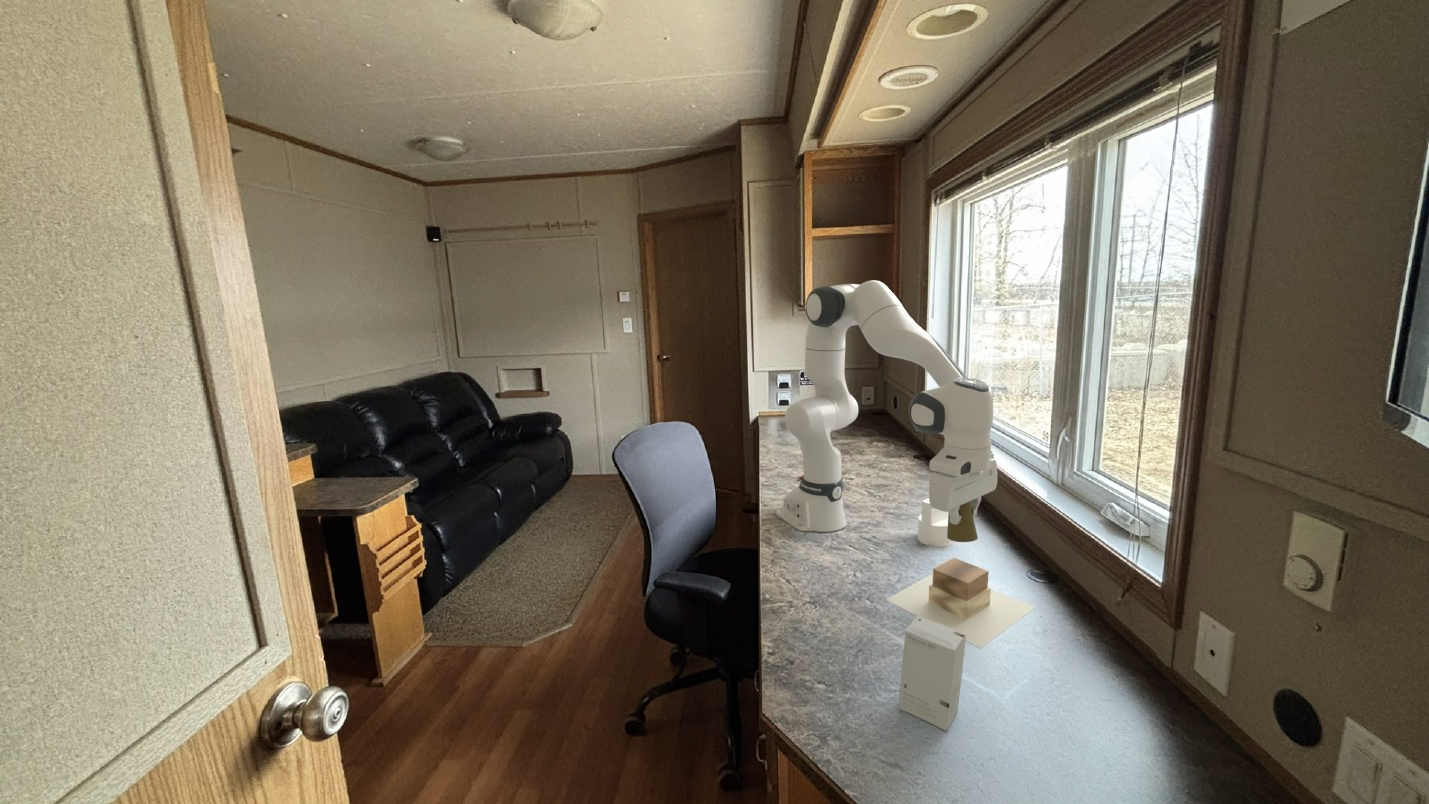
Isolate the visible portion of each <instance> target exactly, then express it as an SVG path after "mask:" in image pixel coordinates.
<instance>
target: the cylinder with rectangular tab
mask: <svg viewBox="0 0 1429 804" xmlns="http://www.w3.org/2000/svg"><path fill="white" fill-rule="evenodd" d="M947 531H948V511H947V512H944V511H941V510H937V509H935V508H932V506H931V505H930V502H929V497H927V498H926V499H924V500H921V514H920V515H918V520H917V540H918V541H919V542H920V543H921V544H923V545H926V546H929V547H931V546H932V547H934V548H945V547H946V548H947V547H950V546H951V545H952V544H953V541H952V540H949V539H948V538H947Z"/></svg>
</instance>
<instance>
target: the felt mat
mask: <svg viewBox="0 0 1429 804" xmlns="http://www.w3.org/2000/svg"><path fill="white" fill-rule="evenodd" d="M931 584H933V573H931V574H930V575H928V576H926V577H924V578H923V579H921V580H919V581H916V582H915V583H913V584H912V585H910V586H908V587H906V588H904V589H902V590H901V591H899V592H897V593H895V594H893V595H892V596H891V595H890V597H887V598H886V599H885V601H887V602H888V603H891V604H893V605H894V606H896V607H898V608H900V609H903V610H904V611H906V612H908V613H911V615H912V614H913V615H914V616H919V617H921V618H924V619H927V620H929V621H932V622H936V623H940V624H942V625H944V626H946V627H948V628H950V629H953V630H956V631H958V632H961V633H963V634H966V641H965V642H967V643H969V644H970V645H972V646H975V647H977V648H979V649H982V648H983V647H984V646H986V645H987V644H989V643H990V642H991V641H993V640H994V639H995V638H996V637H998V636H1000V634H1002V633H1004V632H1005V631H1006V630H1007V629H1008V628H1010V627H1011V626H1013V625H1014V624H1015V623H1017V622H1018V621H1020V620H1021V619H1022V618H1024V617H1025V616H1027V614H1029V613H1031V612H1032V611H1033V610H1034V609H1036V607H1035V606H1033V605H1030V604H1028V603H1025V602H1024V601H1021V600H1018V599H1016V598H1013V597H1011V596H1009V595H1006V594H1004V593H1002V592H999V591H997V590H995V589H992V588H991V595H990V605H989V606H988V607H986V608H985V609H983V610H982V611H980V612H979V613H977V614H976V615H974V616H973V617H971V618H970V619H968V620H965V619H963V618H961V617H959V616H957V615H955V614H953V613H950V612H948V611H946V610H944V609H942V608H940V607H938V606H936V605H934V604H932V603H930V602H928V601H929V585H931Z"/></svg>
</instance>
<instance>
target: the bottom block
mask: <svg viewBox="0 0 1429 804" xmlns="http://www.w3.org/2000/svg"><path fill="white" fill-rule="evenodd" d="M991 589H992V588H991V587H987V589H985V590H984V591H982V592H981V593H979V594H978V595H976V596H974V597H973V598H971V599H970V600H968V601H966V600H963V599H961V598H959V597H957V596H955V595H952V594H950V593H948V592H946V591H943V590H941V589H939V588H937V587H935V586H933V584H931V585H929V601H928V602H930V603H932V604H934V605H936V606H938V607H940V608H942V609H944V610H946V611H948V612H950V613H953V614H955V615H957V616H959V617H961V618H963V619H965V620H968V619H970V618H971V617H973V616H974V615H976V614H977V613H979V612H980V611H982V610H983V609H985V608H986V607H988V606H989V605H990V595H991Z"/></svg>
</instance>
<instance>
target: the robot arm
mask: <svg viewBox="0 0 1429 804" xmlns="http://www.w3.org/2000/svg"><path fill="white" fill-rule="evenodd" d="M805 314H806V317H807V319H808V324H807V330H806V336H805V349H804V351H805V352H804V375H805V376H806V378H807V379H808V380H809V381H811V382H812V384H813V387H814V391H815V395H814V396H812V397H807V398H802V399H800V400H797V401H796V402H794V403H792V404H791V405H789V406H788V407H787V409H786V410H785V414H784V424H785V426H786V429H787V431H789V433H790V434H791V435H792V436H793V437H795V438H796V440H797V441H798V443H799V445H800V449H801V451H802V464H803V465H802V466H803V467H802V468H803V473H802V476H798V477H796V479H797V480H796V481H797V482H799V486H797V487H796V488H795V489H793V490H791V491H790V492H789V493H787V494H786V495H785V496H784V498H783V502H782V503H783V504H782V506H781V507H779V508H778V509H776V511H775V515H776V516H777V517H779V518H780V519H782V520H783V521H785V522H786V523H787V524H789V525H791V526H792V527H793V528H795V529H797V531H800V532H820V533H821V532H822V533H824V532H825V533H827V532H828V533H829V532H835V531H838V530H841V529H843V528H845V527H846V526H847V523H848V522H847V518H846V512H845V509H844V508H845V507H844V502H843V490H844V489H843V488H844V482H843V480H844V479H843V477H842V453H841V450H839V449H838V448H837V447H836V446H835V445H833V443H832V438H831V433H832V432H835V431H837V430H840V429H844V428H846V427H848V426H849V425H850V424H852V423H853V422H854V421H856V419H857V417H858V415H859V405H858V402H857V400H856V399H855V397H853V395H852V394H850V391H849V390H848V385H847V382H846V375H845V364H846V361H845V360H846V358H845V357H846V334H847V331H848V330H849V328H850V327H853V326H854V327H856V328H859V329H860V331H861V332H862V334H863V337H864V338H865V339H866V342H867V343H868V344H869V346H870V347H871V348H872V349H873V350H874V351H875V352H877V353H878V354H880V355H883V356H886V357H891V358H896V359H900V360H901V359H902V360H905V361H909V362H912V363H915V364H917V365H919V366H921V367H922V368H923V369H925V370H926V372H927V373H928V375H929V376H930V377H931V378H932V379H933V381H934V383H936V384H937V387H936V388H931V389H927V390H922V391H920V392H917V393H916V394H914V395H913V397H912V398H911V400H910V402H909V406H908V417H909V420H910V422H911V424H912V426H913V427H914V428H915V429H916V431H918V432H920V433H923V434H929V435H936V434H938V435H939V434H940V435H942V436H943V437H944V440H943V441H944V442H943V445H944V446H943V447H942V448H941V449H940V450H939V452H938V453H937V454H936V455H935V456H934V457H933V458H932V459H930V460H929V469H930V471H932V472H931V474H930V478H929V484H928V485H929V486H928V487H929V488H928V498H929V502H930V505H931V506H932V508H935V509H937V510H941V511H944V512H947V511H948V513H949V515H950V520H949V521H950V523H952V524H955V525H957V524H959V523H961V515H959V513H958V510H959V509H960V505H962V504H965V503H967V502H969V501H970V505H971V510H972V514H973V517H975V516H977V514H978V508H979V505H980V503H981V501H982V496H984V495H987V494H989V493H991V492H994V491H996V488H997V485H998V465H997V464H998V463H997V460H996V459H994V458H995V454H994V453H993V451H992V440H991V434H990V433H991V429H992V428H993V422H994V399H993V398H994V397H993V392H992V389H991V387H990V385H989V384H988V383H986V382H984V381H983V380H981V379H977V378H970V377H968V376H967V375H966V374H965V373H964V371H963V370H962V369H961V368H960V366H959V365H958V364H957V363H956V362H955V360H954V359H953V358H952V356H950V354H949V353H948V352H947V351H946V350H945V349H944V347H943V346H942V345H941V344H940V343H939V342H938V340H937V339H936V338H935V337H933V336H932V335H931V334H930V333H928V332H927V331H926V330H924V329H923V328H922V327H921V326H920V325H918V324H917V323H916V322H915V320H914V319H913V318H912V317H911V316H910V315H909V314H908V312H907V310H906V309H905V307H904V306H903V304H902V303H901V302H900V300H899V299H898V297H897V296H896V294H895V293H893V292H892V291H891V289H889V287H888V286H887V285H886V284H885V283H884V282H881V281H880V280H875V279H874V280H867V281H864V282H862V283H861V284H858V283H857V284H856V283H844V284H836V285H824V286H819V287H816V288H813V289H812V290H811V291H810V292H809V294H808V295H807V298H806V300H805Z"/></svg>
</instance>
